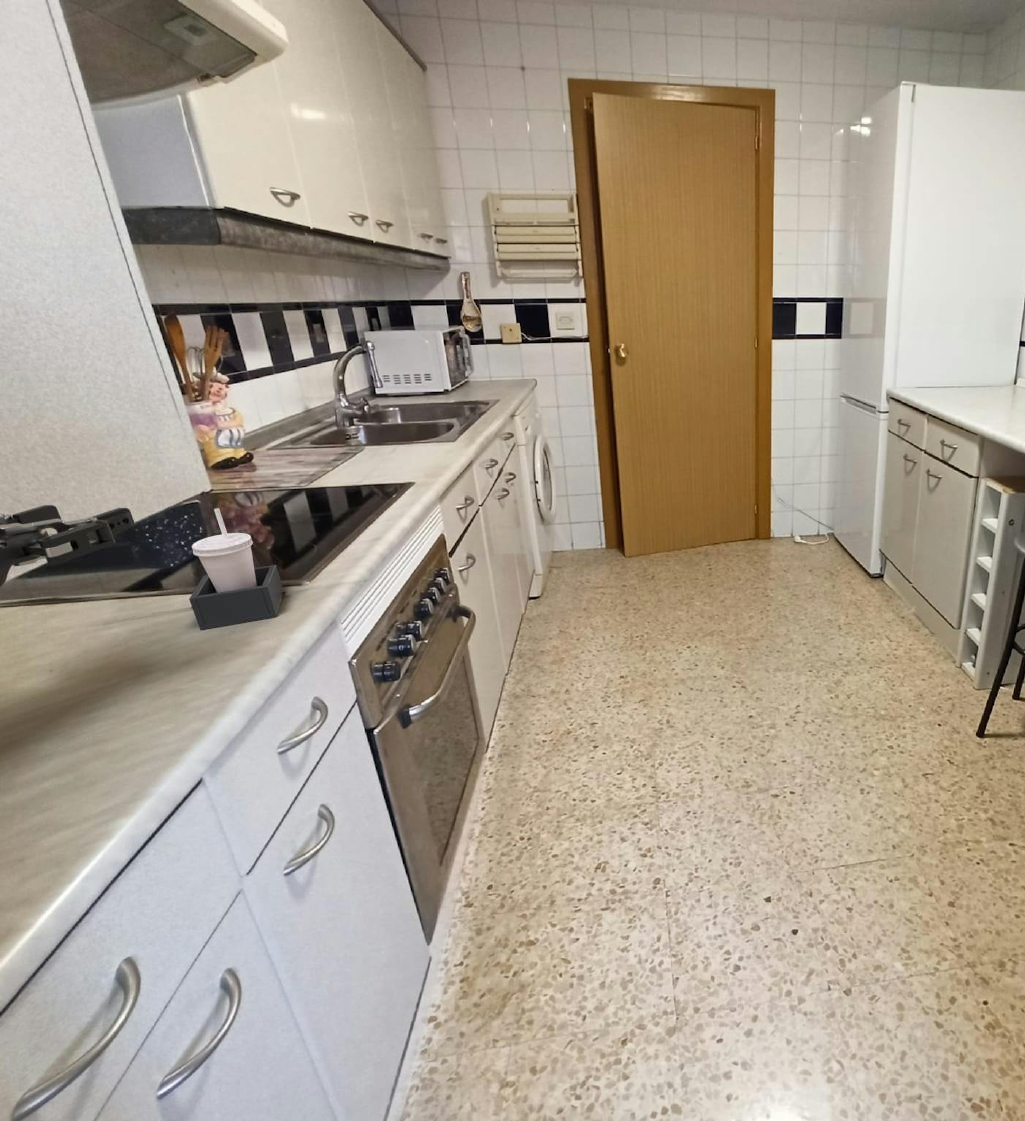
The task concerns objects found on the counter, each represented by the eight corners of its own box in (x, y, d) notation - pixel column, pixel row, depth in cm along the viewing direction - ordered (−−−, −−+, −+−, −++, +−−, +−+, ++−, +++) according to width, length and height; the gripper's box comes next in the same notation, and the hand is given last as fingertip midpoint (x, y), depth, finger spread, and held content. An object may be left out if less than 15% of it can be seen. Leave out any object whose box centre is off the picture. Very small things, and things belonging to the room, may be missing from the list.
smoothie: (271, 608, 89) (240, 511, 84) (212, 621, 86) (176, 521, 80) (271, 592, 94) (242, 499, 89) (215, 603, 91) (182, 507, 85)
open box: (200, 630, 85) (188, 598, 83) (214, 604, 92) (203, 575, 90) (276, 617, 89) (267, 586, 87) (284, 593, 96) (276, 564, 94)
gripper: (-36, 538, 54) (142, 483, 69) (-193, 532, 55) (17, 479, 70) (3, 617, 57) (165, 548, 72) (-146, 610, 58) (45, 544, 73)
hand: (92, 514), depth 71 cm, fingers open, 8 cm apart
